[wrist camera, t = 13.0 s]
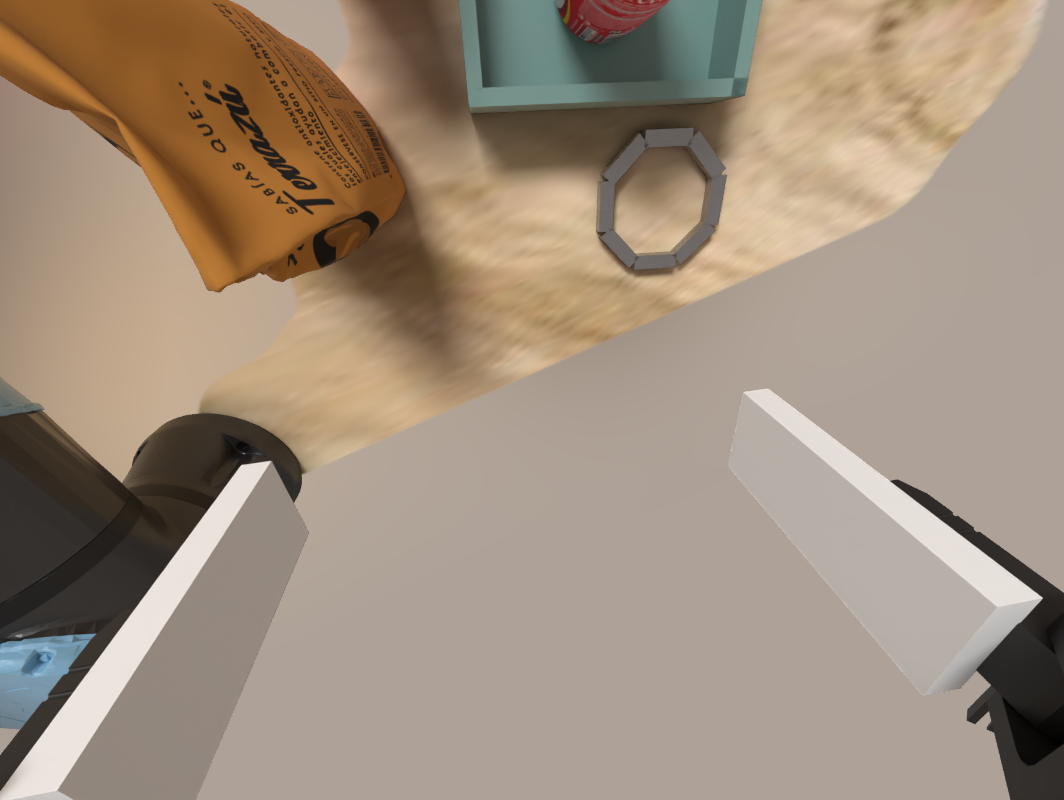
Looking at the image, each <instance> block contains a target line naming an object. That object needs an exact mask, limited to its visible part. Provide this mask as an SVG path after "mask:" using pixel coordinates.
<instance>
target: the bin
mask: <svg viewBox="0 0 1064 800" xmlns="http://www.w3.org/2000/svg"><path fill="white" fill-rule="evenodd" d="M458 1H459V11H460V21H461V31H462V41H463V51H464V61H465V71H466V81H467V91H468V102H469V109H470V112H471V114H472V113H496V112H519V111H543V110H566V109H590V108H613V107H637V106H661V105H684V104H708V103H714V102H719V101H723V100H728V99H732V98H737V97H741V96H745V92H746V86H747V81H748V75H749V70H750V64H751V59H752V53H753V48H754V42H755V37H756V31H757V26H758V20H759V15H760V9H761V4H762V0H670V1H669V2H668V3H667V4H666V5H665V6H663V7H662V8H661V9H660V10H659V11H658V12H656V13H655V14H654V15H653V16H651V17H650V18H649V19H648V20H647V21H645V22H644V23H643V24H641V25H640V26H639V27H638V28H636V29H635V30H634V31H632V32H631V33H629V34H628V35H626V36H624V37H622V38H620V39H617V40H615V41H612V42H609V43H604V44H595V43H590V42H587V41H584V40H582V39H580V38H579V37H578V36H576V35H575V34H574V33H573V32H572V31H571V30H570V29H569V28H568V27H567V25H566V24H565V23H564V21H563V19H562V17H561V16H560V14H559V11H558V8H557V6H556V2H555V0H458Z"/></svg>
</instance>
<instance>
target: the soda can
mask: <svg viewBox="0 0 1064 800" xmlns="http://www.w3.org/2000/svg"><path fill="white" fill-rule="evenodd" d="M669 1H670V0H555V2H556V6H557V8H558V11H559V14H560V16H561V17H562V19H563V21H564V23H565V24H566V25H567V27H568V28H569V29H570V30H571V31H572V32H573V33H574V34H575V35H576V36H578V37H579V38H580V39H582V40H584V41H587V42H590V43H595V44H604V43H609V42H612V41H615V40H617V39H620V38H622V37H624V36H626V35H628V34H629V33H631V32H632V31H634V30H635V29H636V28H638V27H639V26H640V25H641V24H643V23H644V22H645V21H647V20H648V19H649V18H650V17H651V16H653V15H654V14H655V13H656V12H658V11H659V10H660V9H661V8H662V7H663V6H665V5H666V4H667V3H668V2H669Z"/></svg>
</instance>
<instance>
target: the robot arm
mask: <svg viewBox="0 0 1064 800" xmlns="http://www.w3.org/2000/svg"><path fill="white" fill-rule="evenodd" d="M42 410H44V408H43V407H42V406H41V405H40V404H38V403H32V402H31V401H30V400H28V399H27V398H26V397H25V396H23V395H22V394H21V393H19V392H18V391H17V390H16V389H14V388H13V387H12V386H11V385H9V384H8V383H7V382H6V381H4V380H3V379H2V378H1V377H0V728H8V729H20V731H19V732H18V733H17V735H16V736H15V737H14V738H13V740H12V741H11V742H10V744H9V745H8V746H7V747H6V749H5V750H4V751H3V752H2V754H1V755H0V800H196V798H197V796H198V793H199V791H200V789H201V786H202V784H203V782H204V779H205V777H206V774H207V772H208V770H209V767H210V765H211V763H212V760H213V758H214V756H215V753H216V751H217V749H218V746H219V744H220V741H221V739H222V737H223V734H224V732H225V730H226V727H227V725H228V723H229V720H230V718H231V716H232V713H233V711H234V708H235V706H236V704H237V701H238V699H239V697H240V694H241V692H242V690H243V687H244V685H245V682H246V680H247V678H248V675H249V673H250V671H251V668H252V666H253V664H254V661H255V659H256V656H257V654H258V652H259V649H260V647H261V645H262V642H263V640H264V638H265V635H266V633H267V630H268V628H269V626H270V623H271V621H272V619H273V616H274V614H275V612H276V609H277V607H278V604H279V602H280V600H281V598H282V595H283V593H284V591H285V588H286V585H287V583H288V581H289V579H290V576H291V574H292V572H293V569H294V567H295V564H296V562H297V560H298V557H299V555H300V553H301V550H302V548H303V546H304V543H305V541H306V538H307V536H308V534H309V532H308V530H307V528H306V526H305V524H304V522H303V520H302V518H301V516H300V515H299V513H298V511H297V509H296V507H295V505H294V502H295V500H296V498H297V496H298V494H299V492H300V489H301V485H302V476H301V471H300V467H299V465H298V463H297V461H296V459H295V457H294V456H293V454H292V453H291V452H290V450H289V449H288V448H287V447H286V446H285V445H284V444H283V443H282V442H281V441H280V440H279V439H277V438H276V437H275V436H273V435H272V434H271V433H269V432H267V431H266V430H264V429H262V428H260V427H258V426H256V425H254V424H252V423H250V422H247V421H244V420H241V419H238V418H234V417H230V416H225V415H219V414H192V415H186V416H182V417H178V418H176V419H173V420H171V421H169V422H167V423H165V424H164V425H162V426H161V427H160V428H159V429H157V430H156V431H155V432H154V433H153V434H152V435H150V436H149V437H148V438H147V439H146V440H145V441H144V442H143V443H142V445H141V446H140V447H139V448H138V450H137V452H136V454H135V457H134V459H133V463H132V467H131V469H130V471H129V473H128V475H127V476H126V478H125V479H124V481H123V483H121V482H120V481H119V480H118V479H117V478H115V477H114V476H113V475H112V474H111V473H110V472H109V471H108V470H106V469H105V468H104V467H103V466H102V465H101V464H100V463H99V462H97V461H96V460H95V459H94V458H93V457H92V456H91V455H90V454H89V453H87V452H86V451H85V450H84V449H83V448H82V447H81V446H80V445H79V444H78V443H77V442H76V441H75V440H73V439H72V438H71V437H70V436H69V435H68V434H67V433H66V432H65V431H64V430H63V429H61V427H59V426H58V425H57V424H56V423H55V422H54V421H53V420H52V419H51V418H50V417H49V416H48V415H47V414H45V413H44V412H43V411H42ZM728 467H729V468H730V470H731V471H732V472H733V473H734V474H735V476H736V477H737V478H738V479H739V480H740V481H741V483H742V484H743V485H744V486H745V487H746V489H747V490H748V491H749V492H750V493H751V494H752V496H753V497H754V498H755V499H756V500H757V501H758V502H759V504H760V505H761V506H762V507H763V508H764V510H765V511H766V512H767V513H768V514H769V516H771V518H772V519H773V520H774V522H775V523H776V524H777V525H778V526H779V527H780V529H781V530H782V531H783V532H784V533H785V534H786V536H787V537H788V538H789V539H790V540H791V542H792V543H793V544H794V545H795V546H796V547H797V549H798V550H799V551H800V552H801V553H802V554H803V556H804V557H805V558H806V559H807V560H808V562H809V563H810V564H811V565H812V566H813V568H814V569H815V570H816V571H817V572H818V573H819V575H820V576H821V577H822V578H823V579H824V581H825V582H826V583H827V584H828V585H829V586H830V588H831V589H832V590H833V591H834V592H835V593H836V595H837V596H838V597H839V598H840V599H841V601H842V602H843V603H844V604H845V605H846V606H847V607H848V609H849V610H850V611H851V612H852V614H853V615H854V616H855V617H856V618H857V619H858V621H859V622H860V623H861V624H862V625H863V627H864V628H865V629H866V630H867V631H868V632H869V634H870V635H871V636H872V637H873V638H874V640H875V641H876V642H877V643H878V644H879V645H880V647H881V648H882V649H883V650H884V651H885V652H886V654H887V655H888V656H889V657H890V658H891V660H893V662H894V663H895V664H896V665H897V667H898V668H899V669H900V670H901V671H902V673H903V674H904V675H905V676H906V677H907V678H908V680H909V681H910V682H911V683H912V684H913V686H914V687H915V688H916V689H917V690H918V691H919V693H920V694H921V695H922V696H926V695H931V694H936V693H940V692H945V691H950V690H955V689H959V688H961V687H962V686H963V685H964V684H965V683H966V682H967V681H968V679H969V678H970V677H971V676H972V675H973V674H974V673H975V672H976V671H978V672H979V673H980V674H981V675H982V676H983V677H984V678H985V679H986V680H987V681H988V682H989V683H990V684H991V686H990V687H989V688H988V689H987V690H986V691H985V692H984V693H983V694H982V695H981V696H980V697H979V698H978V699H977V700H976V701H975V702H974V704H973V705H971V706H970V708H968V710H967V721H969V722H972V723H974V724H976V723H977V722H978V721H979V720H980V719H981V718H982V717H983V716H984V715H985V714H986V713H987V712H988V711H989V713H990V717H991V722H990V724H989V725H988V726H987V730H989V731H992V732H994V734H995V738H996V742H997V746H998V750H999V754H1000V758H1001V763H1002V767H1003V771H1004V775H1005V779H1006V783H1007V787H1008V791H1009V795H1010V800H1064V593H1063V592H1062V591H1060V590H1059V589H1058V588H1056V587H1055V586H1054V585H1052V584H1051V583H1049V582H1048V581H1047V580H1045V579H1044V578H1043V577H1041V576H1040V575H1038V574H1037V573H1036V572H1034V571H1033V570H1031V569H1030V568H1029V567H1027V566H1026V565H1025V564H1023V563H1022V562H1021V561H1019V560H1018V559H1016V558H1015V557H1014V556H1012V555H1011V554H1010V553H1008V552H1007V551H1005V550H1004V549H1003V548H1001V547H1000V546H999V545H997V544H996V543H994V542H993V541H991V540H990V539H989V538H987V537H986V536H985V535H983V534H982V533H981V532H976V531H975V530H974V527H972V526H971V525H970V524H968V523H967V522H966V521H964V520H963V519H961V518H960V517H959V516H954V515H953V512H952V511H950V510H949V509H948V508H946V507H945V506H943V505H942V504H941V503H939V502H938V501H937V500H935V499H934V498H932V497H931V496H930V495H928V494H927V493H925V492H923V491H921V490H918V489H916V488H914V487H912V486H910V485H908V484H906V483H904V482H902V481H900V480H892V481H889V480H887V479H886V478H885V477H883V476H882V475H881V474H879V473H878V472H877V471H876V470H874V469H873V468H872V467H870V466H869V465H868V464H866V463H865V462H864V461H863V460H861V459H860V458H859V457H857V456H856V455H854V454H853V453H852V452H851V451H849V450H848V449H847V448H845V447H844V446H843V445H842V444H840V443H839V442H838V441H836V440H835V439H834V438H832V437H831V436H829V435H828V434H827V433H826V432H825V431H823V430H822V429H820V428H819V427H818V426H817V425H815V424H814V423H813V422H811V421H810V420H808V419H807V418H806V417H805V416H804V415H802V414H801V413H800V412H798V411H797V410H796V409H794V408H793V407H792V406H790V405H789V404H788V403H786V402H785V401H784V400H783V399H781V398H780V397H779V396H777V395H776V394H775V393H773V392H772V391H771V390H769V389H762V390H755V391H748V392H743V395H742V400H741V404H740V409H739V414H738V419H737V423H736V429H735V433H734V439H733V443H732V447H731V452H730V457H729V462H728Z"/></svg>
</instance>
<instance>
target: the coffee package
mask: <svg viewBox="0 0 1064 800" xmlns="http://www.w3.org/2000/svg"><path fill="white" fill-rule="evenodd" d="M0 76H2V77H4V78H5V79H7V80H8V81H10V82H11V83H13V84H15V85H16V86H18V87H19V88H21V89H22V90H24V91H26V92H27V93H29V94H31V95H33V96H34V97H36V98H38V99H40V100H42V101H44V102H46V103H48V104H50V105H52V106H54V107H58V108H60V109H63V110H70V111H71V112H72V113H73V114H74V115H75V116H77V117H78V118H79V119H80V120H82V121H83V122H84V123H86V124H87V125H88V126H89V127H91V128H92V129H93V130H94V131H96V132H97V133H98V134H100V135H101V136H102V137H103V138H104V139H106V140H107V141H108V142H109V143H111V144H112V145H113V146H114V147H116V148H117V149H118V150H119V151H121V152H122V153H123V154H124V155H125V156H127V157H128V158H130V159H131V160H132V161H134V162H135V163H136V164H138V165H139V166H140V167H141V168H142V169H143V171H144V173H145V174H146V176H147V178H148V180H149V181H150V183H151V185H152V187H153V188H154V190H155V192H156V194H157V195H158V197H159V199H160V201H161V202H162V204H163V206H164V208H165V209H166V211H167V213H168V215H169V216H170V218H171V220H172V222H173V224H174V226H175V228H176V230H177V232H178V234H179V236H180V237H181V239H182V241H183V242H184V244H185V246H186V248H187V250H188V251H189V253H190V255H191V257H192V259H193V261H194V263H195V265H196V266H197V268H198V270H199V273H200V275H201V277H202V279H203V281H204V284H205V286H206V288H207V290H209V291H215V292H221V291H222V290H223V289H224V288H225V287H226V286H228V285H231V284H233V283H239V282H242V281H245V280H246V279H249V278H252V277H255V276H256V275H257V274H258V273H261V274H263V275H264V274H267V275H268V276H269V277H270V278H272V279H273V280H276V281H280V282H284V281H285V280H287V279H289V278H294V277H296V276H299V275H301V274H304V273H306V272H310V271H314V270H318V269H321V268H323V267H325V266H328V265H330V264H332V263H334V262H336V261H338V260H341V259H343V258H344V257H346V256H347V255H349V254H350V253H351V252H353V251H354V250H356V249H357V248H359V247H360V246H361V245H362V244H363V243H365V242H366V241H367V240H368V239H369V238H370V236H371V235H372V234H373V233H374V232H375V231H377V230H378V229H379V228H380V227H381V226H382V225H383V224H384V223H385V222H386V221H387V220H389V219H391V218H392V217H393V216H394V214H395V213H396V211H397V209H398V207H399V205H400V203H401V201H402V199H403V196H404V194H405V192H406V188H405V184H404V182H403V180H402V178H401V176H400V174H399V172H398V170H397V168H396V166H395V164H394V163H393V161H392V160H391V159H390V157H389V156H388V154H387V153H386V151H385V149H384V147H383V145H382V143H381V140H380V137H379V134H378V130H377V127H376V125H375V123H374V122H373V120H372V119H371V117H370V116H369V114H368V112H367V111H366V110H365V108H364V107H363V106H362V105H361V104H360V102H359V101H358V100H357V99H356V98H355V96H354V95H353V94H352V93H351V92H350V90H349V89H348V88H347V87H346V86H345V84H344V83H343V82H342V81H341V80H340V79H339V78H338V77H337V76H336V75H335V74H334V73H333V72H332V71H331V70H330V68H329V67H328V66H327V65H326V64H325V63H324V62H323V61H322V60H320V59H319V58H318V57H317V56H316V55H315V54H314V53H313V52H312V51H310V50H308V49H307V48H305V47H303V46H301V45H299V44H298V43H296V42H295V41H293V40H292V39H290V38H287V37H286V36H284V35H282V34H281V33H280V32H278V31H277V30H276V29H275V28H273V27H272V26H270V25H269V24H267V23H266V22H263V21H262V20H261V19H259V18H258V17H256V16H255V15H254V14H253V13H251V12H250V11H249V10H247V9H245V8H244V7H242V6H240V5H238V4H236V3H234V2H231V1H229V0H0Z"/></svg>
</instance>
